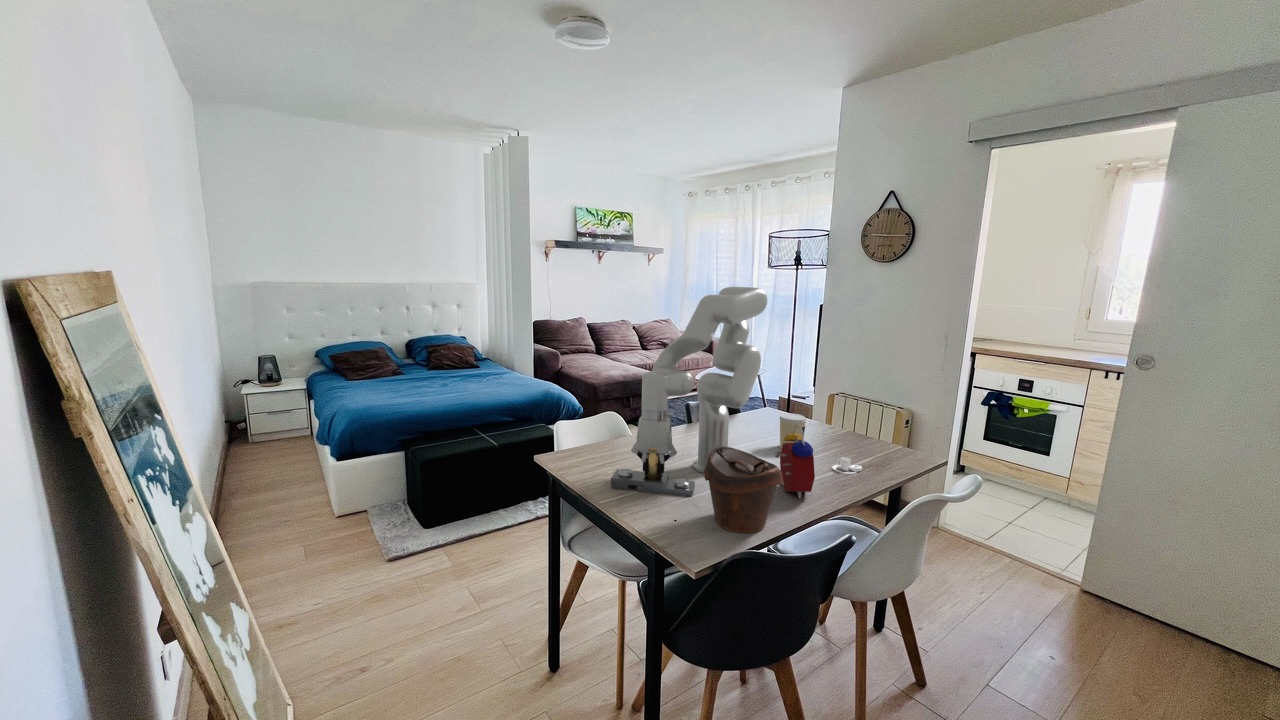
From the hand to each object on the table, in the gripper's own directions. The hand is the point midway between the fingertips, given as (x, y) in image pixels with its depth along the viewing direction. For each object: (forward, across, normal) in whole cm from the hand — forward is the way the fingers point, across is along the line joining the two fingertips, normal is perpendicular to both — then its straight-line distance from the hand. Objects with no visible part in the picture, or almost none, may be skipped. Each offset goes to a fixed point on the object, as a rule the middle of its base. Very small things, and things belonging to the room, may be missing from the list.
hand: (653, 473), depth 151 cm
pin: (+2, 0, 0) cm, 2 cm away
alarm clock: (+4, -40, -7) cm, 41 cm away
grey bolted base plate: (+4, 0, 0) cm, 4 cm away
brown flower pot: (+4, -26, +16) cm, 31 cm away
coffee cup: (+4, -43, -47) cm, 64 cm away
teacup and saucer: (+5, -60, -27) cm, 66 cm away
